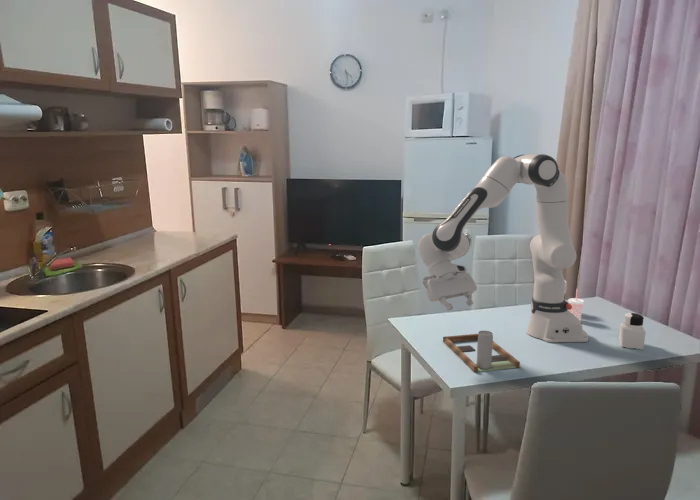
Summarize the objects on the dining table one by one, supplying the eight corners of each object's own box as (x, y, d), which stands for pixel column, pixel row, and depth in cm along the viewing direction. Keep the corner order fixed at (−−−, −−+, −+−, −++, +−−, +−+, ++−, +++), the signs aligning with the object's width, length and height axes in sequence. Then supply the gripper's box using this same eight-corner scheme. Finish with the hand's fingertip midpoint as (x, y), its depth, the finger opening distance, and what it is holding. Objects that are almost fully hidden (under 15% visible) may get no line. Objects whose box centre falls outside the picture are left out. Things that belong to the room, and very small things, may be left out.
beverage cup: (570, 317, 221) (572, 285, 218) (584, 320, 216) (587, 288, 213) (564, 320, 216) (566, 288, 213) (578, 324, 212) (581, 291, 209)
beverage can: (474, 364, 174) (475, 330, 171) (487, 363, 174) (489, 330, 172) (479, 370, 169) (481, 336, 167) (493, 369, 170) (495, 335, 167)
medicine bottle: (639, 342, 192) (643, 312, 189) (643, 350, 185) (647, 318, 183) (618, 340, 194) (621, 310, 192) (621, 347, 188) (625, 316, 185)
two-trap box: (442, 341, 194) (443, 336, 194) (482, 338, 197) (483, 333, 197) (474, 372, 168) (474, 366, 168) (519, 367, 171) (520, 362, 171)
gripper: (424, 273, 177) (442, 307, 171) (468, 265, 187) (486, 298, 181) (416, 282, 182) (433, 316, 176) (460, 275, 192) (477, 306, 186)
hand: (460, 307), depth 178 cm, fingers open, 8 cm apart
